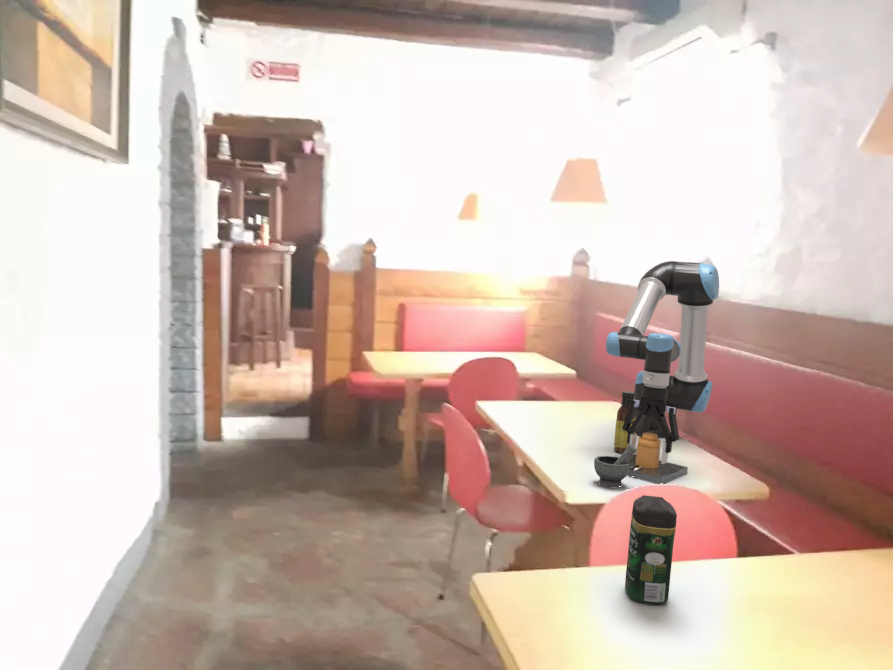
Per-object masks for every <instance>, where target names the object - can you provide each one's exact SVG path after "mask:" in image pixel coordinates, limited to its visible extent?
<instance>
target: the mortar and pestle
mask: <svg viewBox="0 0 893 670" xmlns="http://www.w3.org/2000/svg"><path fill="white" fill-rule="evenodd" d="M634 453H635V454H636V453H637V447H636V446H635V447H634V446H633V445H631V444H629V445H628V446H627V449H626V450H625V451H624V452H623V453H621V455H619V456H612V455H611V456H610V455H598V456H596V457H595V458H594V461H593V464H594V466H593V467H594V471H595V473H596V475H597V476H598V477H599V480H598V484H599V483H600V484H601V485H600V484H599V485H600V486H602V485H603V486H602V487H605V486H606V487H605V488H610V487H619V486H621V485H622V481H623V480H624V479H625V478H626V477H627V474H628V473H629V469H630V462H629V460H630V458H631V457H632V455H633V454H634ZM621 487H622V486H621Z"/></svg>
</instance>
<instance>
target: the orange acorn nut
mask: <svg viewBox="0 0 893 670" xmlns="http://www.w3.org/2000/svg"><path fill="white" fill-rule="evenodd" d="M636 445H637V446H636V449H637V451H636V452H635V454H636V463H635V464H637V465H639V466H643V467H644V468H657V467H658V466H659V460H660V456H661V455H660V454H661V439H660V438H659V437H658V435H657V434H654V433H648V432H645V433H643V434H642V436H639V437H638V441H637V443H636Z"/></svg>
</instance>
